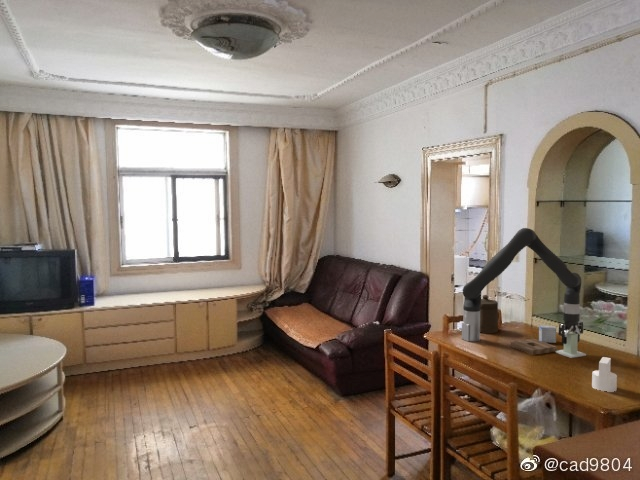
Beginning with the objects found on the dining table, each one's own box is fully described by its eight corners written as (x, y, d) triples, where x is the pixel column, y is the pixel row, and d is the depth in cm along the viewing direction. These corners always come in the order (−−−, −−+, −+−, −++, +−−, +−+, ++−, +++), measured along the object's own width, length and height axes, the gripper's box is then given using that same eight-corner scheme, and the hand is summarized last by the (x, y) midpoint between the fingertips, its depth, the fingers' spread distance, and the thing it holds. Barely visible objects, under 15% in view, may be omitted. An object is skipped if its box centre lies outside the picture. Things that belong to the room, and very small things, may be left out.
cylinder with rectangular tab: (594, 382, 209) (594, 355, 208) (618, 387, 203) (619, 359, 202) (589, 388, 202) (590, 360, 201) (614, 393, 196) (615, 365, 195)
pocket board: (532, 355, 246) (532, 350, 246) (510, 346, 261) (510, 341, 261) (556, 351, 252) (556, 346, 252) (533, 343, 267) (533, 338, 267)
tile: (571, 358, 241) (571, 356, 241) (555, 352, 250) (555, 350, 250) (585, 355, 244) (586, 354, 244) (569, 349, 254) (569, 348, 254)
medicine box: (553, 340, 271) (553, 325, 270) (556, 343, 266) (556, 327, 266) (538, 340, 272) (538, 325, 271) (541, 342, 267) (541, 327, 266)
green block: (570, 354, 244) (571, 335, 244) (563, 351, 249) (563, 332, 248) (577, 353, 246) (577, 334, 245) (569, 350, 250) (570, 331, 249)
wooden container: (485, 326, 304) (485, 292, 303) (503, 331, 291) (503, 296, 289) (467, 329, 298) (467, 294, 296) (484, 334, 285) (485, 298, 283)
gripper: (575, 309, 251) (574, 339, 253) (554, 311, 247) (554, 342, 248) (588, 312, 244) (587, 343, 246) (566, 314, 240) (566, 346, 241)
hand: (570, 342), depth 247 cm, fingers open, 8 cm apart
